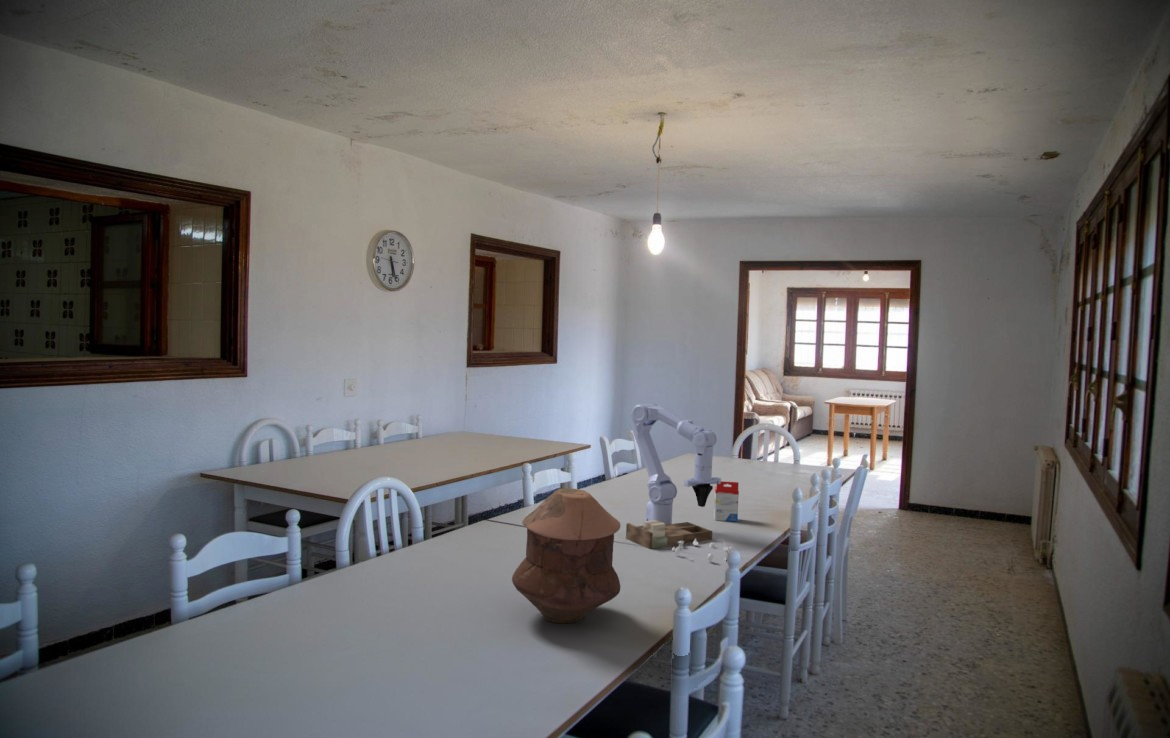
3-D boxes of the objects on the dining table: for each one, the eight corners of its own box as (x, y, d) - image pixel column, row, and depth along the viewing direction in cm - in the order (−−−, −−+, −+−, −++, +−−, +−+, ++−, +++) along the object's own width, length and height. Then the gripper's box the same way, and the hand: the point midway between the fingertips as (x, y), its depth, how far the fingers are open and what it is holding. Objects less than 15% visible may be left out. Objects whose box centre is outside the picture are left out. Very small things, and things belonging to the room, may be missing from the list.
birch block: (642, 533, 247) (643, 521, 247) (655, 532, 250) (655, 520, 250) (652, 537, 243) (652, 525, 243) (664, 536, 246) (665, 523, 246)
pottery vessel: (539, 591, 198) (543, 476, 196) (633, 607, 188) (638, 487, 187) (491, 624, 174) (496, 494, 172) (596, 646, 164) (602, 508, 163)
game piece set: (734, 567, 227) (735, 554, 227) (667, 560, 231) (667, 548, 230) (734, 549, 246) (735, 537, 246) (672, 543, 250) (673, 532, 249)
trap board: (622, 536, 254) (623, 522, 254) (683, 529, 268) (684, 515, 267) (649, 548, 241) (650, 533, 241) (712, 539, 255) (712, 525, 255)
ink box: (736, 518, 287) (738, 480, 286) (737, 522, 282) (739, 482, 281) (713, 517, 287) (715, 478, 287) (714, 520, 282) (716, 481, 282)
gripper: (694, 469, 250) (692, 510, 251) (727, 467, 258) (725, 506, 259) (680, 465, 256) (678, 505, 257) (713, 463, 264) (711, 502, 265)
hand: (701, 506), depth 258 cm, fingers closed
